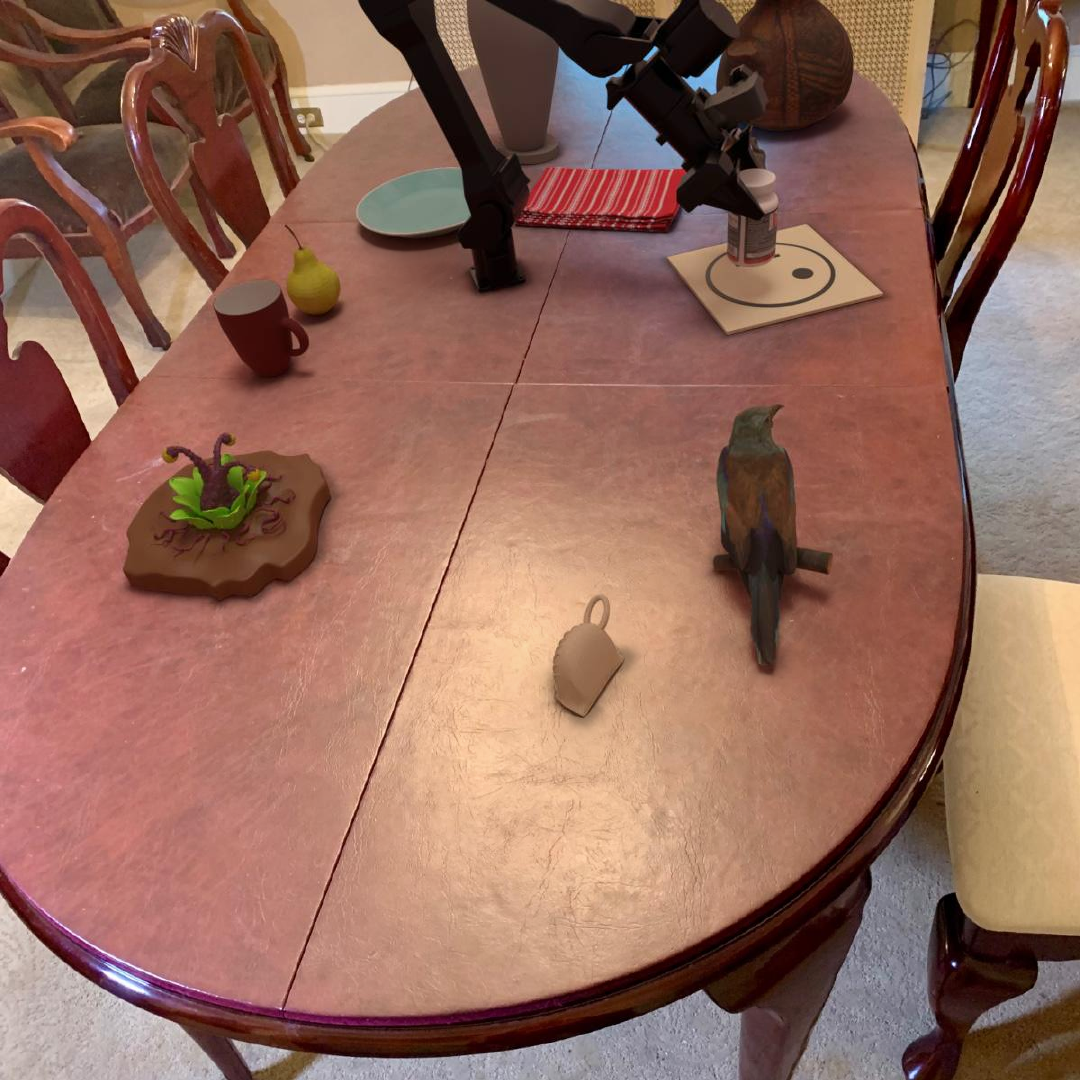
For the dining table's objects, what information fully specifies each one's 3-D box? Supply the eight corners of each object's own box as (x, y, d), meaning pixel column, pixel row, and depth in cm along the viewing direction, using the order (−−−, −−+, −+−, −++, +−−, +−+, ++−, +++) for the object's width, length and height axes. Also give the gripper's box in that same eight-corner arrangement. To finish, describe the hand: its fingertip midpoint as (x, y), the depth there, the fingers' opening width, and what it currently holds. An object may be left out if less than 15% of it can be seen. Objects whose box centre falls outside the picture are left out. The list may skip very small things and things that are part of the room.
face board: (666, 260, 125) (666, 255, 124) (806, 227, 127) (806, 221, 127) (726, 335, 111) (727, 329, 110) (882, 296, 113) (883, 290, 112)
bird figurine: (842, 670, 74) (848, 416, 70) (715, 669, 76) (712, 421, 71) (821, 617, 87) (824, 400, 82) (713, 618, 89) (710, 405, 84)
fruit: (356, 307, 125) (332, 222, 117) (316, 330, 122) (288, 245, 114) (325, 292, 129) (300, 209, 121) (285, 315, 126) (256, 231, 117)
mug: (333, 352, 118) (311, 280, 111) (307, 390, 112) (282, 317, 105) (258, 349, 120) (232, 278, 113) (229, 386, 115) (200, 314, 108)
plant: (170, 471, 104) (128, 388, 96) (342, 460, 102) (314, 374, 94) (105, 608, 90) (50, 523, 82) (304, 597, 88) (266, 510, 80)
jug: (712, 97, 164) (716, -108, 143) (841, 89, 160) (864, -123, 139) (711, 148, 148) (715, -72, 128) (853, 141, 145) (881, -87, 124)
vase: (581, 142, 156) (561, -108, 132) (539, 174, 149) (510, -85, 124) (515, 133, 162) (485, -108, 138) (472, 163, 155) (432, -86, 130)
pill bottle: (781, 249, 114) (787, 169, 107) (766, 272, 111) (772, 190, 104) (735, 243, 117) (739, 164, 110) (719, 264, 113) (722, 185, 106)
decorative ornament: (540, 698, 76) (533, 657, 73) (594, 629, 81) (590, 587, 77) (582, 719, 75) (577, 678, 71) (635, 647, 79) (632, 605, 75)
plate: (332, 244, 139) (327, 226, 137) (402, 179, 153) (398, 162, 151) (465, 257, 132) (462, 238, 130) (526, 188, 146) (524, 170, 144)
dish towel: (673, 234, 130) (673, 216, 128) (512, 227, 137) (510, 210, 135) (696, 179, 141) (696, 162, 139) (547, 176, 148) (545, 159, 146)
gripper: (708, 84, 92) (812, 196, 97) (738, 22, 105) (829, 124, 109) (633, 161, 100) (732, 262, 105) (668, 95, 112) (756, 187, 117)
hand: (765, 205), depth 109 cm, fingers closed on pill bottle, 6 cm apart
